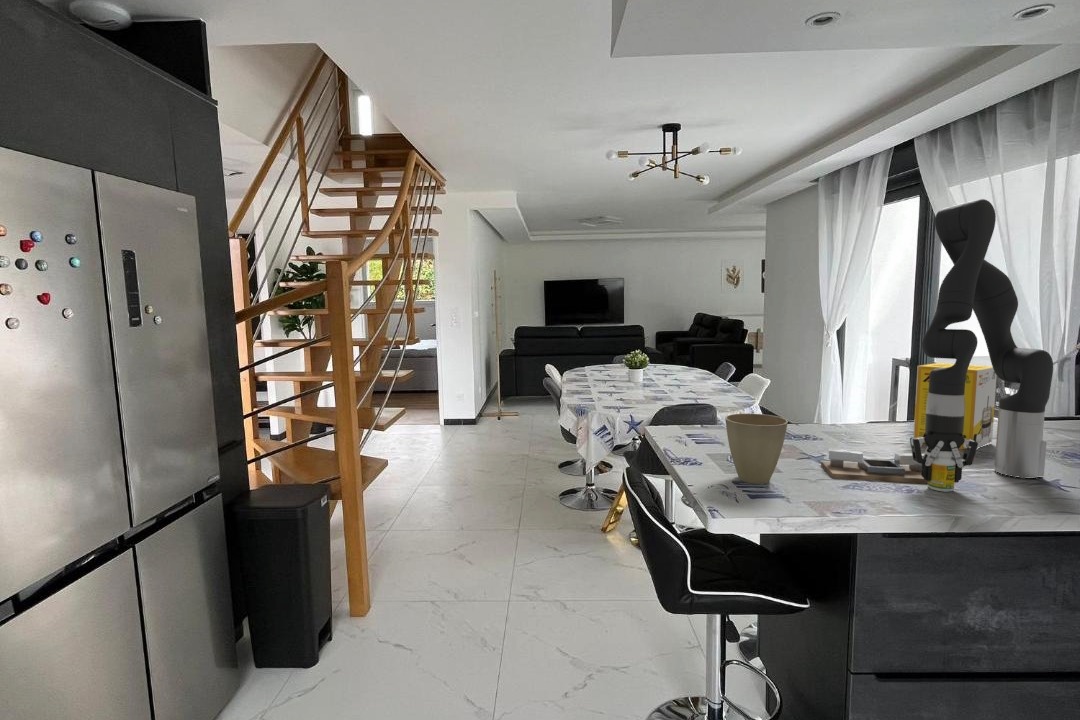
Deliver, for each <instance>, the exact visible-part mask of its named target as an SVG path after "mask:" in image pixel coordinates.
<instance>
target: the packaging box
mask: <svg viewBox="0 0 1080 720" xmlns="http://www.w3.org/2000/svg"><path fill="white" fill-rule="evenodd" d="M954 364H955V363H943V362H936V363H927V364H922V365H921V364H920V365H917V368H916V369H917V370H916V386H915V400H914V401H915V403H914V404H915V405H914V421H913V436H912V437H914V438H919V437H923V435H924V434H925V423H926V406H927V398H928V393H929V376H930V372H931V371H932V370H933V369H937V368H947V367H951V366H953V365H954ZM997 378H998V376H997V375H996V373H995V372H994V369H993V367H992V366H986V365H985V366H983V365H974V364H973V365H972V364H969V367H968V370H967V374H966V379H965V392H964V399H965V413H964V429H963V437H964V439H967V440H969V439H971V440H973V441H976V442H977V443H978V446H977V448H978V447H981V446H983V445H985V444H987V443H990V442H992V443H993V434H994V432H993V431H994V420H995V418H994V417H995V407H996V406H995V403H996V392H997V391H996V390H997ZM922 444H926V443H925V442H923V443H922ZM961 449H965V447H964V443H963V444H962V446H961V447H960V448H959V449H958V450H961Z"/></svg>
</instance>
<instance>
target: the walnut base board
mask: <svg viewBox="0 0 1080 720" xmlns="http://www.w3.org/2000/svg"><path fill="white" fill-rule="evenodd" d="M820 466H821V467H822V469H824V470H825V472H826V473H827V474H828V475H829V476H830V477H831V478H832V479H843V480H844V479H845V480H859V481H861V480H862V481H874V482H875V481H876V482H894V483H907V484H908V483H910V484H928V481H926V480H925V479H924V478H923V477H922V475H921V473H922V472H917V471H914V470H912V469H910V468H909V465H901V466H902V467H903V468H904V469H905V476H899V475H881V474H868V473H866V472H865V471H864V470H863V469H862V468H861V467H859V466H858V462H844V463H843V468H836V467H831V466H830V461H820Z"/></svg>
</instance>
